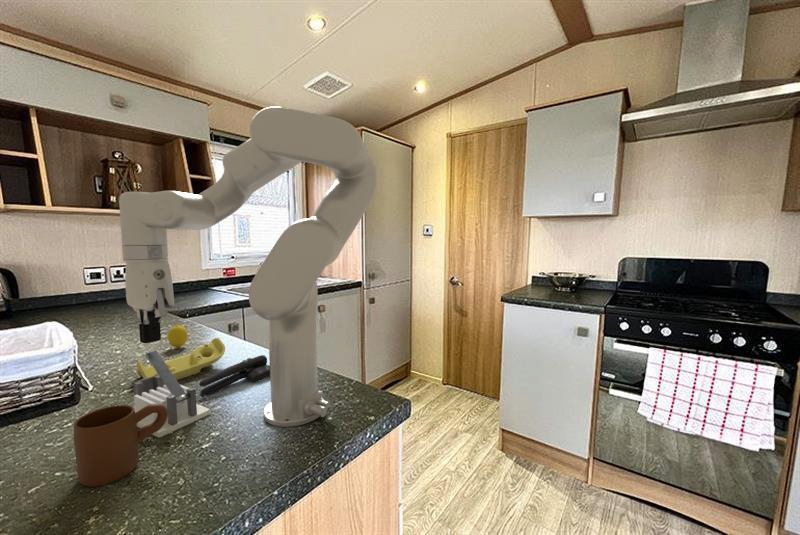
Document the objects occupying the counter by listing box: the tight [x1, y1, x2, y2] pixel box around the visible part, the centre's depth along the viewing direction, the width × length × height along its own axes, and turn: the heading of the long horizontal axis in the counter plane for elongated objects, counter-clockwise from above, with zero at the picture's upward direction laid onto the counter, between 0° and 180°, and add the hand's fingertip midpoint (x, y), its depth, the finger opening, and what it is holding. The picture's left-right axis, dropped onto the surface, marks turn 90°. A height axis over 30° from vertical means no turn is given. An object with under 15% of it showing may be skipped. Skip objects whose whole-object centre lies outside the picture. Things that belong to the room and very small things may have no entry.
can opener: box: [198, 354, 270, 396], centre depth 89 cm, size 18×7×6 cm, turn 140°
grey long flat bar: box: [145, 350, 190, 403], centre depth 72 cm, size 14×3×1 cm
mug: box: [73, 404, 168, 488], centre depth 57 cm, size 12×8×9 cm, turn 133°
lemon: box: [167, 324, 189, 349], centre depth 116 cm, size 6×6×8 cm
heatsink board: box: [132, 375, 211, 439], centre depth 73 cm, size 15×10×6 cm, turn 60°
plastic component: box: [136, 337, 226, 385], centre depth 96 cm, size 20×7×10 cm
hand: (150, 341), depth 73 cm, fingers closed
